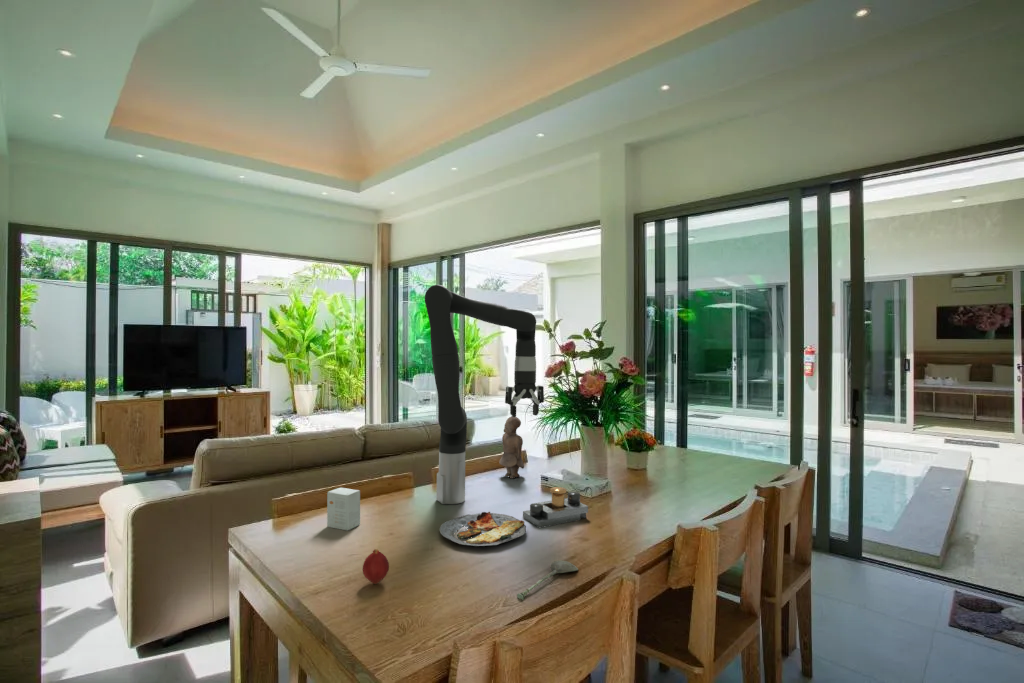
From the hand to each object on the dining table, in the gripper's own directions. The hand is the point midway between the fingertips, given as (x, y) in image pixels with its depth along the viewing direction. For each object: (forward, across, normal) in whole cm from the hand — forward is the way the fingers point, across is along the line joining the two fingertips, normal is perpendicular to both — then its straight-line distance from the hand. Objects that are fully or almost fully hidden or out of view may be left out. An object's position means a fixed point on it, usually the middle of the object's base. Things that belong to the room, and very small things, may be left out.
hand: (524, 415), depth 179 cm
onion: (+30, +60, +38) cm, 77 cm away
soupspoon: (+31, +24, +54) cm, 67 cm away
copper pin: (+30, -2, +19) cm, 36 cm away
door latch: (+30, -1, +19) cm, 36 cm away
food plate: (+30, +25, +21) cm, 45 cm away
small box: (+30, +60, -3) cm, 67 cm away
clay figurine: (+30, -12, -31) cm, 45 cm away
